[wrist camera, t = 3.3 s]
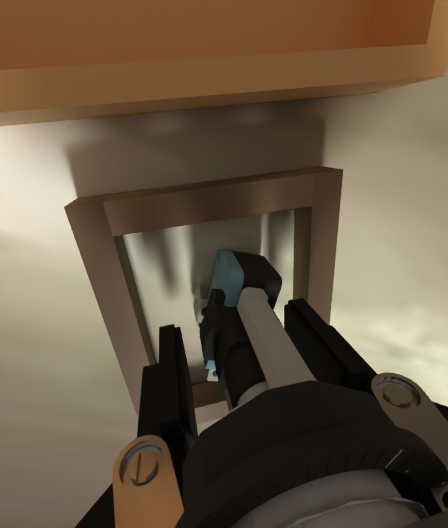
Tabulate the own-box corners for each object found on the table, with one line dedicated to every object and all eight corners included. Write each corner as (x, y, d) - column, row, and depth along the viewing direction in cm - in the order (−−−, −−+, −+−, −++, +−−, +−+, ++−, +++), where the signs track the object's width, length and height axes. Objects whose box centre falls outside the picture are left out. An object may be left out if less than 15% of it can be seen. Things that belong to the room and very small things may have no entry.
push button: (254, 360, 15) (379, 676, 6) (157, 356, 14) (138, 753, 5) (292, 251, 13) (584, 510, 4) (179, 232, 11) (220, 568, 2)
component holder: (321, 166, 11) (343, 169, 10) (310, 370, 17) (323, 390, 15) (77, 198, 10) (64, 206, 9) (146, 411, 15) (145, 437, 14)
